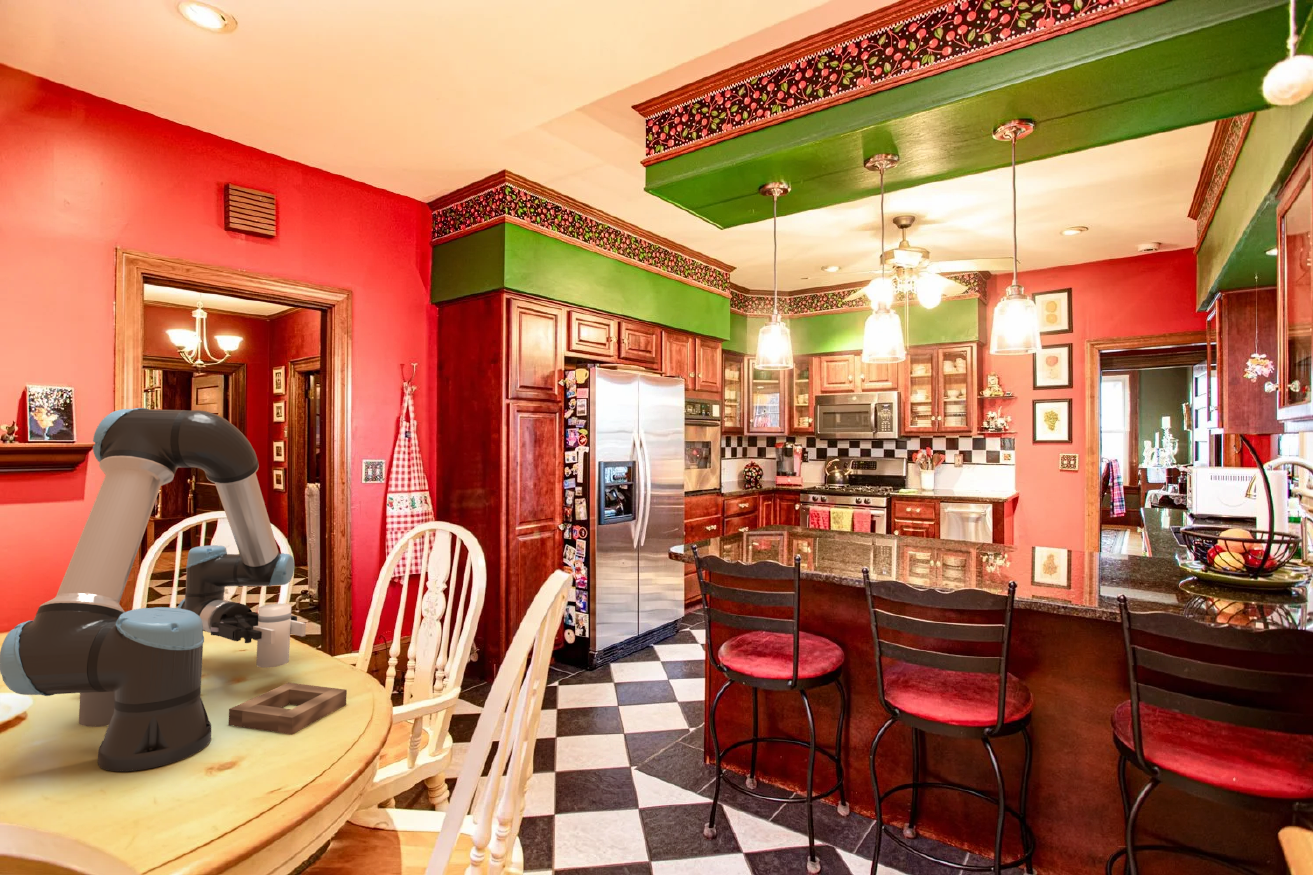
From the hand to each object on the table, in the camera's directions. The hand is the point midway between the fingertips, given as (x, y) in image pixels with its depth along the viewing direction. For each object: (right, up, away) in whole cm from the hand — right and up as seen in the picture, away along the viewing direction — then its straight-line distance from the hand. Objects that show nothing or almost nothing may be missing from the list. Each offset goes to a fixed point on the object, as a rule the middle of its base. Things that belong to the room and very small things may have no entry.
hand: (288, 633), depth 134 cm
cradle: (+7, -12, -11) cm, 18 cm away
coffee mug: (-24, -12, -12) cm, 30 cm away
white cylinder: (-5, -7, +2) cm, 9 cm away
